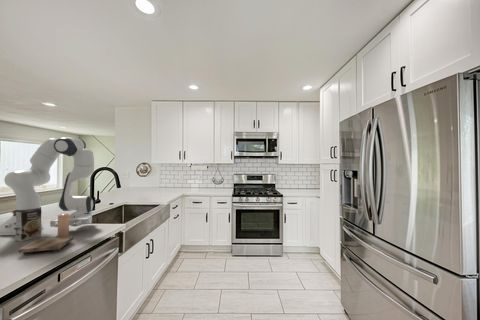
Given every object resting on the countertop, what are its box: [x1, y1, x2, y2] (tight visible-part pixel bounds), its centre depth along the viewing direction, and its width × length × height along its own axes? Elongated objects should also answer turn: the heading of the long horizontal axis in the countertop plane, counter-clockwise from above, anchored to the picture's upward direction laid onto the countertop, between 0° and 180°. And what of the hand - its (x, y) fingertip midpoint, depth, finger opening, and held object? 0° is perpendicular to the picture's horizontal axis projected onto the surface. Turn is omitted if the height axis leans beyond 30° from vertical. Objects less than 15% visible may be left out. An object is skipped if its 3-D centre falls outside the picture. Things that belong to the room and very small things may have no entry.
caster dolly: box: [17, 236, 74, 256], centre depth 108 cm, size 16×14×4 cm
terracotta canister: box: [57, 213, 70, 238], centre depth 123 cm, size 5×5×14 cm
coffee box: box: [14, 208, 42, 242], centre depth 124 cm, size 9×6×16 cm
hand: (65, 224), depth 125 cm, fingers open, 8 cm apart
